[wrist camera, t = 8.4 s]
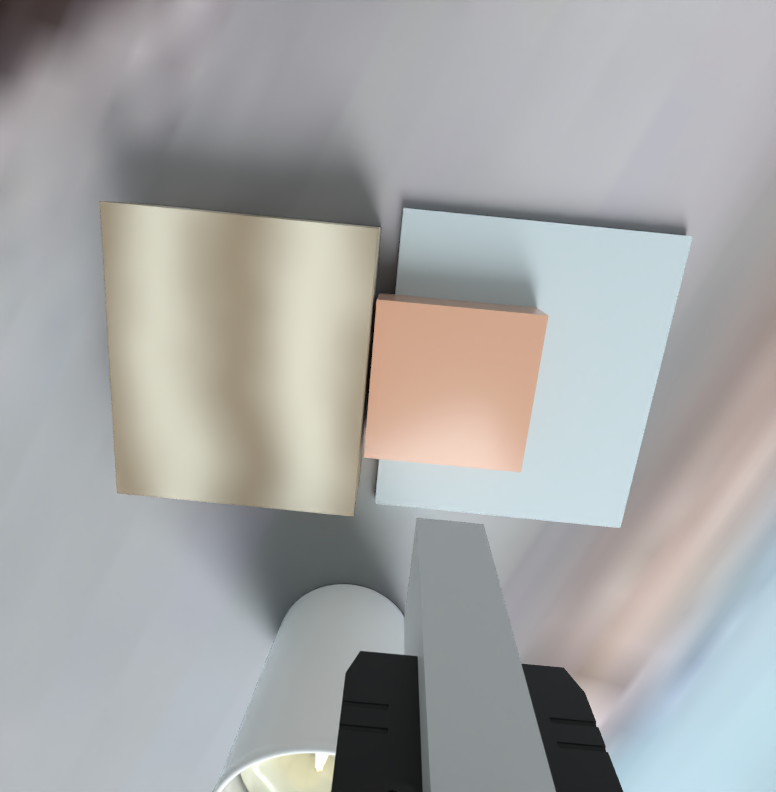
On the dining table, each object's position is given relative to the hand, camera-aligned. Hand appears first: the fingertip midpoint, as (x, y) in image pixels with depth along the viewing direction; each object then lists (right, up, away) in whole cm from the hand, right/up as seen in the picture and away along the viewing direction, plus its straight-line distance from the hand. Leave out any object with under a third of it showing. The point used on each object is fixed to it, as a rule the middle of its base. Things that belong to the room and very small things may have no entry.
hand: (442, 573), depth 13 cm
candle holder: (-4, -11, +23) cm, 26 cm away
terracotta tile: (+2, +5, +17) cm, 18 cm away
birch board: (-8, +6, +17) cm, 20 cm away
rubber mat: (+6, +5, +17) cm, 19 cm away
